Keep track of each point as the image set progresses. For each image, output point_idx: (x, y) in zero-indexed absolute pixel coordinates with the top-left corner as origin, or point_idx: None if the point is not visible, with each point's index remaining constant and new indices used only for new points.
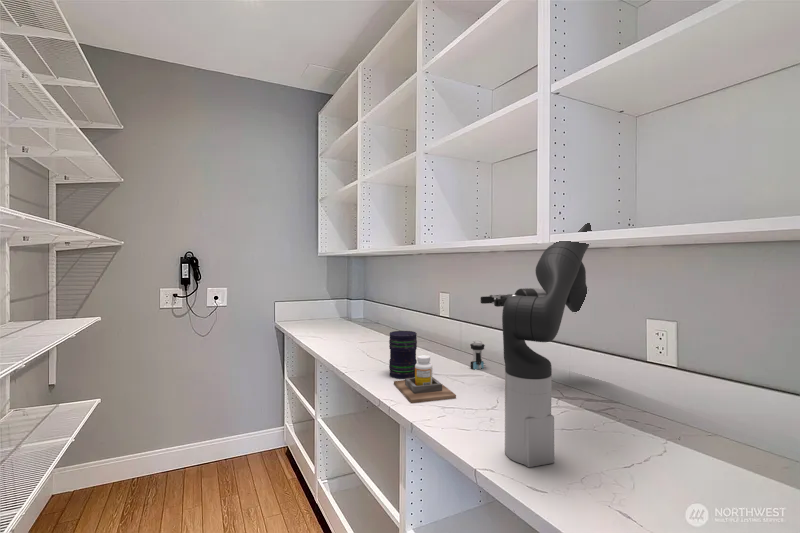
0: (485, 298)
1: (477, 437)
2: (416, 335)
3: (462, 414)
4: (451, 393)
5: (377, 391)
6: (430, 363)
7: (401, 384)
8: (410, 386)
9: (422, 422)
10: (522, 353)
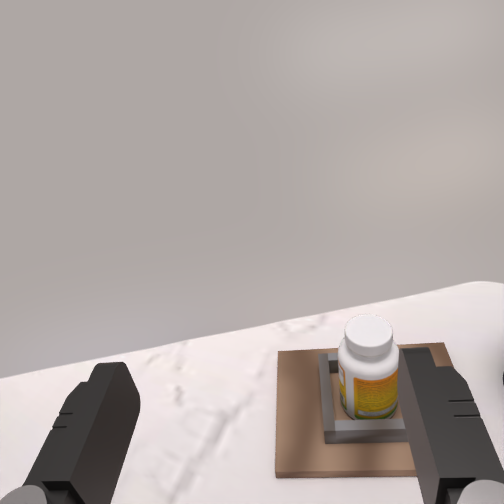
0: (410, 398)
1: (50, 425)
2: None
3: (162, 444)
4: (292, 463)
5: (381, 310)
6: (365, 365)
7: None
8: None
9: (171, 354)
10: None
